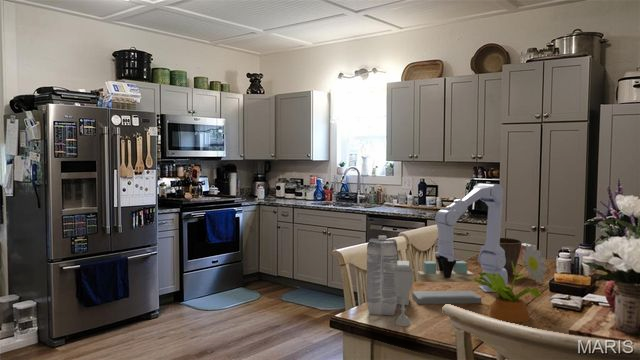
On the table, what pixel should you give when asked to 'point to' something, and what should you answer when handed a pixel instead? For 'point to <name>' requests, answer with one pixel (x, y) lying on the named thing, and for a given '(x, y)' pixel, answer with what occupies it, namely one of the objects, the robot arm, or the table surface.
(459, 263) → the block
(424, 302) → the loading dock
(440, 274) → the beige bar
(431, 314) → the table surface
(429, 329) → the table surface
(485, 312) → the table surface
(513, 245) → the plant pot
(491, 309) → the decorative plant
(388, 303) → the juice carton
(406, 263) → the supplement box
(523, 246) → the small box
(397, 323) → the chalice
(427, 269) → the block
